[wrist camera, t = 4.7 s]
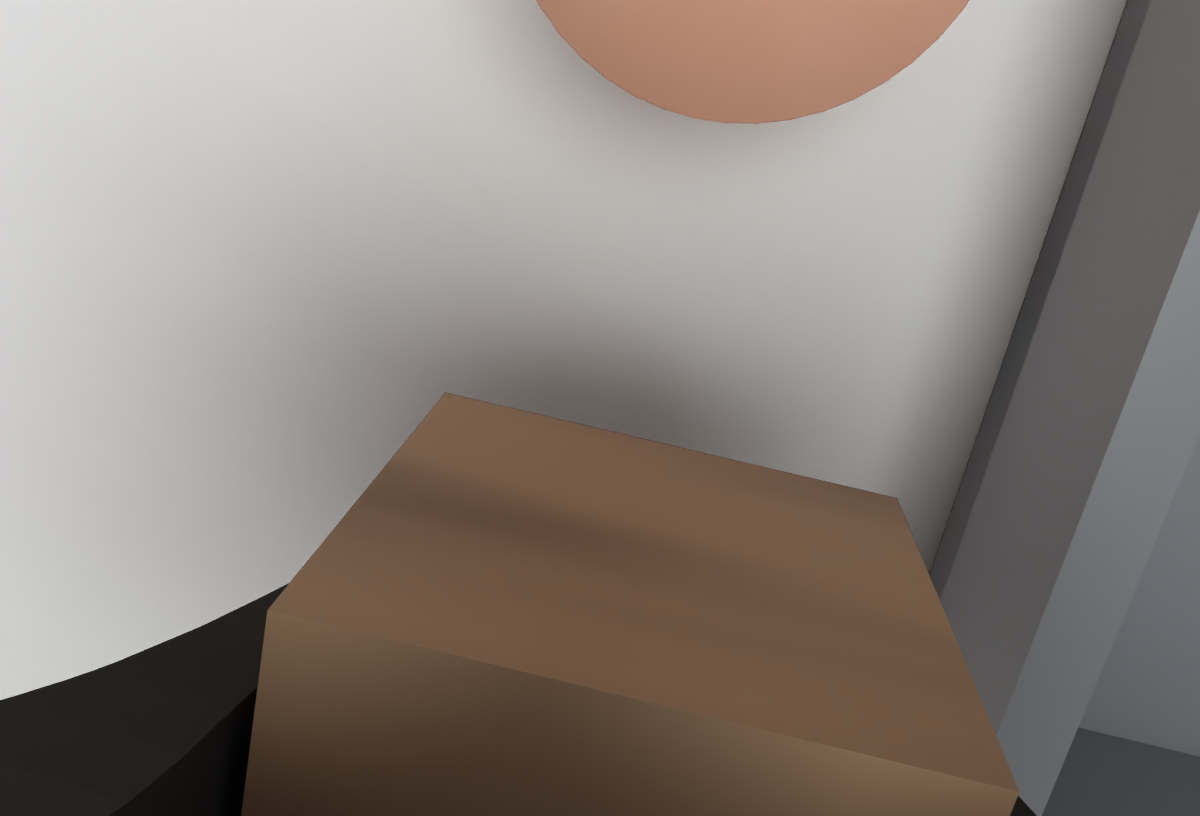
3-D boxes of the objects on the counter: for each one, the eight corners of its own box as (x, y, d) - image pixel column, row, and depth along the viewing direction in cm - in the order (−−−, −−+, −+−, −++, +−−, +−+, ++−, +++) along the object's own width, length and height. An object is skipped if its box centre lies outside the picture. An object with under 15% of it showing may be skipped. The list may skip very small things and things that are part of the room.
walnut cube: (776, 869, 13) (812, 1314, 9) (379, 770, 14) (197, 1155, 9) (897, 498, 12) (1020, 792, 7) (445, 392, 12) (266, 611, 7)
